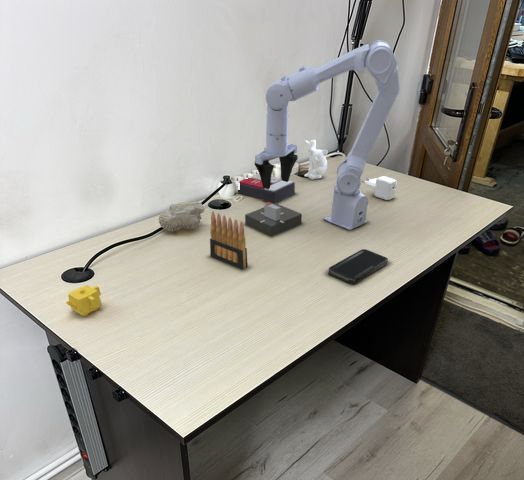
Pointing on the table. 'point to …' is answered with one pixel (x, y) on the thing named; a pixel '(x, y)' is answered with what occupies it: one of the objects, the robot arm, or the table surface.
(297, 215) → the panel
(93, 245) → the table surface
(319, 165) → the white animal figurine
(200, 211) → the fossil replica
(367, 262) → the phone
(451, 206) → the table surface
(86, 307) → the yellow knobbed block
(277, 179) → the red and grey box
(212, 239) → the ammunition clip
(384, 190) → the power adapter
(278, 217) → the knob
